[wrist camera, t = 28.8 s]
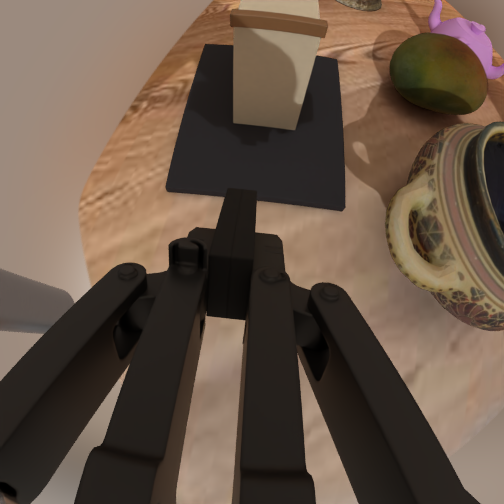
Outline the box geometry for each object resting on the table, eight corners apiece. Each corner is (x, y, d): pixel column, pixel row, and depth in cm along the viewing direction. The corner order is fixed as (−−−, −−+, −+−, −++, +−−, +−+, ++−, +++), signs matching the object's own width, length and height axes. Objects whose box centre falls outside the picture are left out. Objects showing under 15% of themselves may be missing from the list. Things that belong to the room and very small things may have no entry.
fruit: (472, 120, 33) (511, 79, 24) (426, 148, 31) (472, 97, 22) (418, 60, 35) (446, 14, 26) (362, 77, 33) (389, 18, 24)
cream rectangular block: (230, 125, 29) (230, 14, 16) (238, 81, 31) (242, -22, 18) (297, 133, 29) (328, 26, 17) (298, 88, 31) (323, -12, 18)
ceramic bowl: (341, 332, 28) (432, 394, 14) (323, 142, 28) (399, 59, 13) (509, 292, 30) (599, 305, 15) (496, 153, 30) (582, 124, 15)
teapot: (413, 26, 38) (432, -10, 30) (475, 53, 39) (496, 24, 30) (431, 69, 35) (457, 29, 27) (496, 99, 36) (524, 68, 27)
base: (167, 192, 28) (121, 85, 14) (205, 49, 33) (199, -47, 20) (342, 211, 29) (415, 120, 15) (335, 64, 34) (366, -27, 20)
